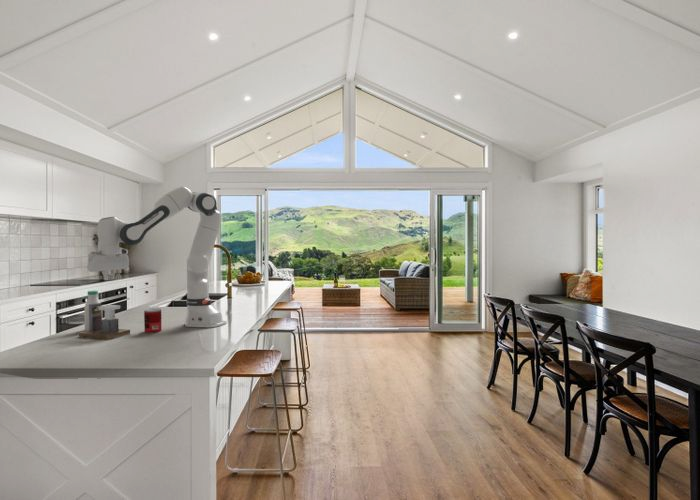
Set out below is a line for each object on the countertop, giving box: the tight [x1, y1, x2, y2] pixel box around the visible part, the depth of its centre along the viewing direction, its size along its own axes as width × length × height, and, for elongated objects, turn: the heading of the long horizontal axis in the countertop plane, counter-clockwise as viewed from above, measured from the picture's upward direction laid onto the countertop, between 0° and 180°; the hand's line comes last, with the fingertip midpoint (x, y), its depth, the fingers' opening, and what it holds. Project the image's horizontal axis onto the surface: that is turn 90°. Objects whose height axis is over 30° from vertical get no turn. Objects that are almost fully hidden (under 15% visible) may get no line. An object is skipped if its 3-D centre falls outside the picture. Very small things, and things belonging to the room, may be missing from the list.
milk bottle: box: [83, 290, 103, 331], centre depth 218 cm, size 8×8×20 cm
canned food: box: [143, 307, 162, 334], centre depth 215 cm, size 8×8×11 cm
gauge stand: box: [78, 302, 131, 341], centre depth 206 cm, size 18×13×15 cm
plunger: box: [96, 304, 121, 320], centre depth 206 cm, size 11×6×8 cm, turn 70°
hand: (109, 279), depth 204 cm, fingers closed
